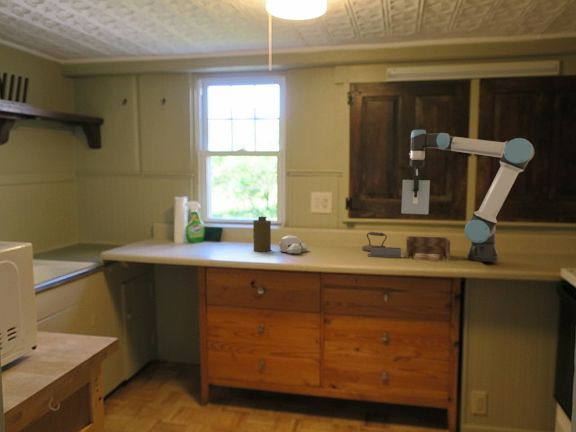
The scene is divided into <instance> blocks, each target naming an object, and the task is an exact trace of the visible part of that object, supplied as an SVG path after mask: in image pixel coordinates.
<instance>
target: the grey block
mask: <svg viewBox="0 0 576 432" xmlns="http://www.w3.org/2000/svg"><path fill="white" fill-rule="evenodd" d="M367 257H370V258H392V259H393V258H396V259H404V258H405V256H404V254H402V247H392V246H390V247H389V246H388V247H387V246H385V247H371V251H370V252H369V253H368V254H367Z"/></svg>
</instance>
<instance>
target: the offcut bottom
mask: <svg viewBox="0 0 576 432" xmlns="http://www.w3.org/2000/svg"><path fill="white" fill-rule="evenodd" d="M413 260H416V261H427V260H426V259H414V258H413ZM433 261H439V262H443V259H440V260H433Z"/></svg>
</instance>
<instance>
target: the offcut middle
mask: <svg viewBox="0 0 576 432" xmlns="http://www.w3.org/2000/svg"><path fill="white" fill-rule="evenodd" d="M414 259H426V260H425V261H434V260H440V257H439V258H432V257H416V256H415V255H414V258H413V260H414Z"/></svg>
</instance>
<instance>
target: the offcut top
mask: <svg viewBox="0 0 576 432" xmlns="http://www.w3.org/2000/svg"><path fill="white" fill-rule="evenodd" d="M415 256H416V257H432V258H439V257H440V255H437V254H421V253H416V254H415Z"/></svg>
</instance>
